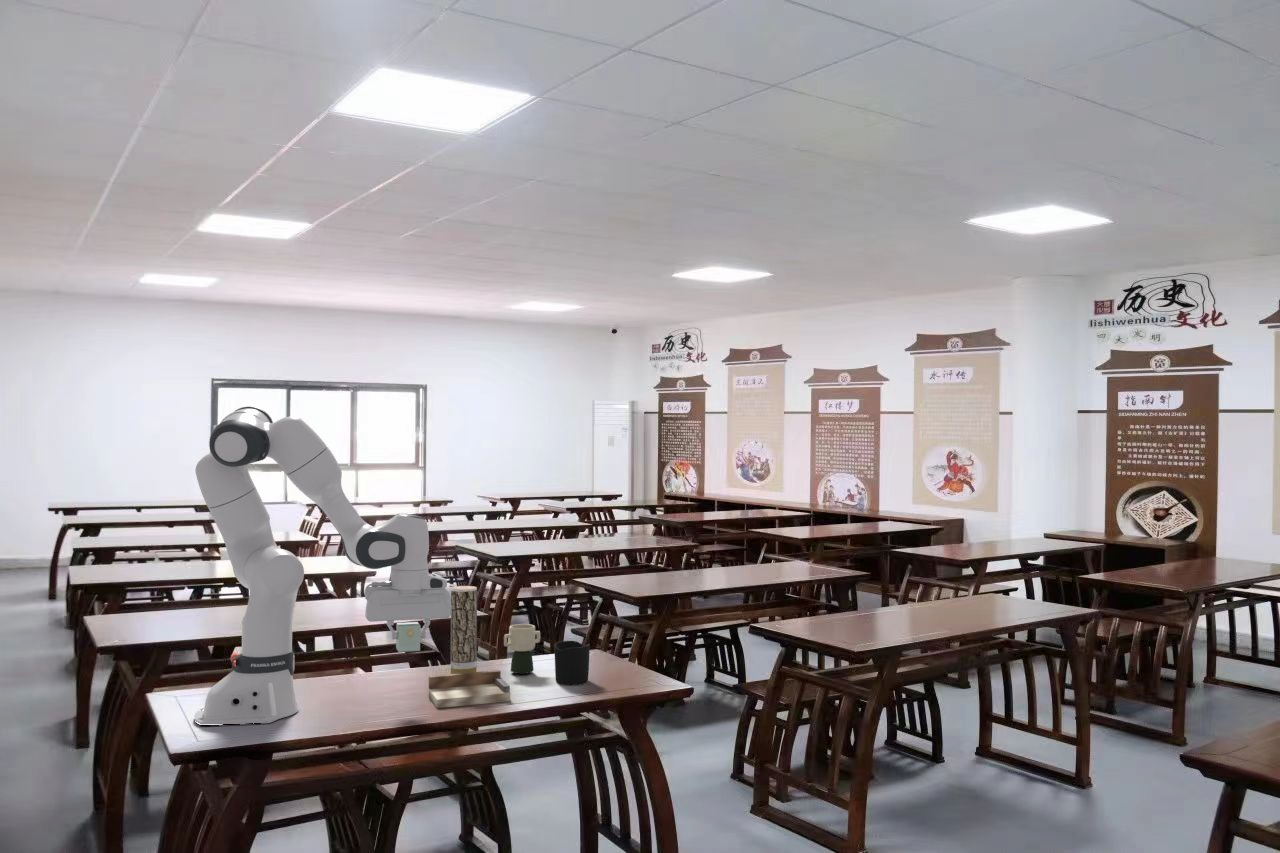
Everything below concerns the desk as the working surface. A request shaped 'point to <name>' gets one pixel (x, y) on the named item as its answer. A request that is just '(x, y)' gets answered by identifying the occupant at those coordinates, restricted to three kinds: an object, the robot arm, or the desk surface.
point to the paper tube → (463, 629)
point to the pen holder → (571, 662)
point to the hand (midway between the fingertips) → (408, 638)
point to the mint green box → (408, 636)
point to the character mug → (522, 646)
